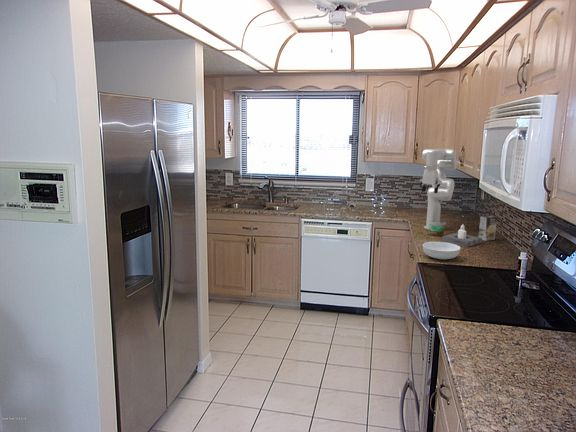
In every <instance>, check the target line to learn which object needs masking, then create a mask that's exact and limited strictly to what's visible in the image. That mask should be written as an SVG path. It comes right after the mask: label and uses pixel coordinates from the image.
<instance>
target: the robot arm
mask: <svg viewBox="0 0 576 432" xmlns="http://www.w3.org/2000/svg"><path fill="white" fill-rule="evenodd" d="M421 157H422V159H423V160H424V161H426V162H425V165H424V168H425V169H424V171H423V175H422V177H421V178H419V182H420V183H419V184H420V185H421V186H422V187H421V192H426V190H427V192H426V193H427V211H426V220H425V221H426V222H425V223H426V225H424V226H423V228H424V229H425V230H428V231H429V223H428V222H429V221H432V222H441V209H442V206H441V203H440V201H442V202H443V201H444V202H446V201H447V202H448V201H451V199H452V197H453V192H454V189H455V181H454V179H453V178H448V177H447V175H446V173H445V172H444V171H455V170H456V169H457V166H458V161H457V154H456V150H454V148H429V149H427V148H426V149H423V150H422V152H421ZM427 185H431V187H428V189H427Z"/></svg>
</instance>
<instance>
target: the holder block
mask: <svg viewBox="0 0 576 432" xmlns="http://www.w3.org/2000/svg"><path fill="white" fill-rule="evenodd" d="M482 241H483V240H482V238H480V237H478V236H476V235H469V234H466V239H461V238H458V232H455V233H454V232H453V233H451V234H448V235H443V236H442V238H441V242H446V243H451V244H455V245H457V246H459V247H464V246H465V247H464V248H469V246H470V247H472V246H476V245H479V244H482Z"/></svg>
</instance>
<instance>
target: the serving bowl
mask: <svg viewBox="0 0 576 432" xmlns="http://www.w3.org/2000/svg"><path fill="white" fill-rule="evenodd" d="M422 250H423V252H424V254H425V255H427V256H429V257H431V258H433V259H436V260H450V259H451V260H452V259H454V258H456V257H457V256H458V255H459V254H460V252H461V250H462V249H461V246H460V245H455V244H451V243H446V242H442V241H427V242H424V243H423V244H422Z"/></svg>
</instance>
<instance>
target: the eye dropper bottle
mask: <svg viewBox="0 0 576 432" xmlns="http://www.w3.org/2000/svg"><path fill="white" fill-rule="evenodd" d="M465 228H466V227H465V225H464V224H463V223H462V224H461V225H460V229H458V231H457V233H458V238H461V239H466V235H467V231H466V230H465Z"/></svg>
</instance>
